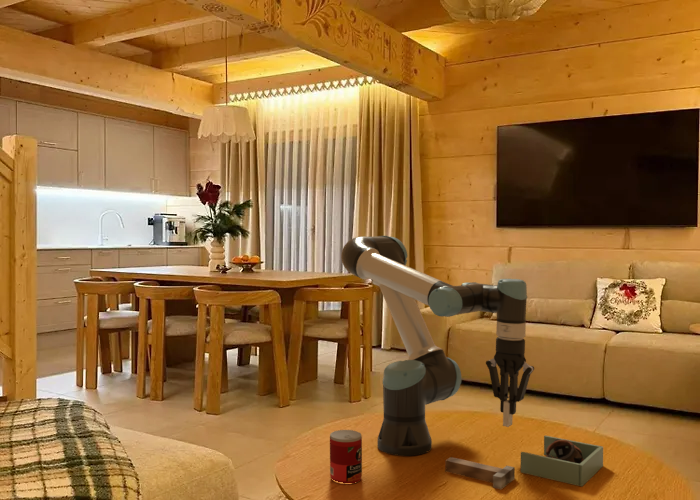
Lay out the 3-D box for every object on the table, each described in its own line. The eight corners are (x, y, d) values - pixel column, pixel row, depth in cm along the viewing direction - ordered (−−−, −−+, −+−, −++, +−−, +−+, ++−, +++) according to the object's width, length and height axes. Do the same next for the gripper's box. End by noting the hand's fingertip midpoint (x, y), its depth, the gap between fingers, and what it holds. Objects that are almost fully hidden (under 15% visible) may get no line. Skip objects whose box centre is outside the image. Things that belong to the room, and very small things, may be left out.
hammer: (440, 475, 161) (440, 463, 161) (455, 465, 168) (455, 454, 168) (501, 490, 152) (501, 477, 152) (514, 479, 158) (514, 467, 158)
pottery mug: (595, 476, 161) (584, 451, 158) (561, 492, 161) (549, 468, 159) (574, 448, 172) (564, 424, 170) (542, 463, 173) (531, 440, 170)
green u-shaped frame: (520, 472, 162) (520, 452, 162) (545, 453, 175) (545, 435, 175) (582, 486, 153) (582, 465, 153) (603, 465, 166) (603, 446, 166)
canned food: (351, 487, 154) (351, 441, 153) (323, 480, 158) (323, 436, 157) (368, 476, 160) (367, 432, 160) (340, 470, 164) (340, 427, 164)
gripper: (481, 336, 173) (478, 423, 174) (528, 343, 165) (525, 434, 166) (493, 332, 179) (491, 416, 180) (539, 338, 171) (536, 426, 172)
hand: (507, 425), depth 173 cm, fingers closed
